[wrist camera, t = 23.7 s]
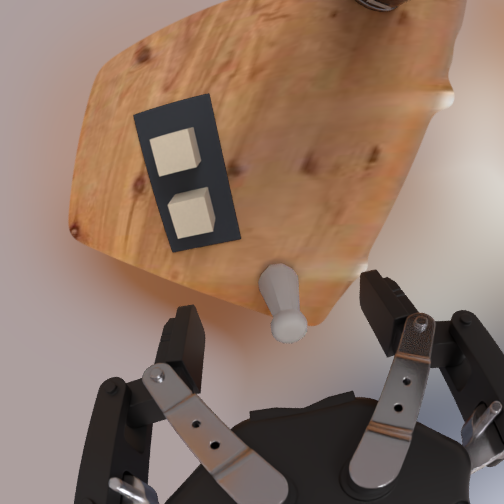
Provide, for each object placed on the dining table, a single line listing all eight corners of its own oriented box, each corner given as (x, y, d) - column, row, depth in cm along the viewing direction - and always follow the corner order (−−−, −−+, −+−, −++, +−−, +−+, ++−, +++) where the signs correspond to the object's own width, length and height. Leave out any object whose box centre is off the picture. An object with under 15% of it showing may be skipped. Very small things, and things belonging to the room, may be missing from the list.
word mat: (134, 115, 32) (133, 115, 31) (209, 93, 31) (209, 93, 31) (173, 251, 41) (172, 252, 40) (241, 237, 40) (241, 239, 40)
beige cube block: (174, 194, 36) (166, 205, 32) (207, 186, 36) (204, 196, 32) (183, 225, 39) (177, 239, 35) (215, 218, 38) (213, 231, 34)
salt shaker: (250, 280, 44) (255, 341, 32) (270, 251, 41) (283, 307, 30) (281, 295, 45) (296, 356, 34) (303, 268, 43) (325, 325, 32)
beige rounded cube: (158, 136, 33) (148, 139, 29) (193, 127, 33) (187, 128, 29) (167, 169, 35) (158, 176, 31) (201, 160, 35) (196, 167, 31)
